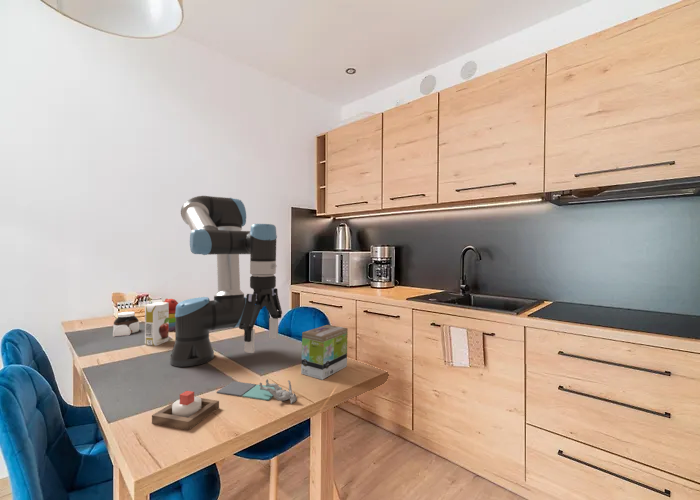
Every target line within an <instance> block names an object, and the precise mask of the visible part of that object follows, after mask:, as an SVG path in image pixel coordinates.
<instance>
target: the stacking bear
mask: <svg viewBox="0 0 700 500" xmlns="http://www.w3.org/2000/svg"><path fill="white" fill-rule="evenodd" d="M163 302H166V303H169V332H173V331H175V328H176V317H175V313H176V306H177V304H178V303H179V302H178V301H177V300H176V299H173V298H165V300H164V301H163Z"/></svg>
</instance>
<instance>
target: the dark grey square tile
mask: <svg viewBox="0 0 700 500" xmlns="http://www.w3.org/2000/svg"><path fill="white" fill-rule="evenodd" d="M256 385H257V384H255V383H252V382H251V383H249V382H242V381H234V380H233V381H231V382H230V383H228V384H227V385H224V386H223V387H222V388H220V389H218V390H217V391H216V394H221V395H228V396H234V397H240V398H241V397H243V395H244V394H245V393H247V392H248V391H249V390H251V389H252V388H253V387H255V386H256Z"/></svg>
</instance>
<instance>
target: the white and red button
mask: <svg viewBox="0 0 700 500" xmlns="http://www.w3.org/2000/svg"><path fill="white" fill-rule="evenodd" d="M201 398H202V397H199V396H195V391H193V390H192V391H191V390H185V391H184V392H181V393H180V394H179V399H177V400H176V401H174V402H172V403H173V404H172V403H171V404H172V415H175V416H181V417H187V418H188V417H190V416H191V415H193V414H194V413H196V412H197V411H199V410H200V409H201Z"/></svg>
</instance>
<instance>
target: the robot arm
mask: <svg viewBox="0 0 700 500" xmlns="http://www.w3.org/2000/svg"><path fill="white" fill-rule="evenodd" d="M180 216H181V218H182V220H183V222H184V223H185V224H187V226H189V229H190V230H191V232H190V233H189V234H190V235H189V247H190V252H191V254H194V255H203V256H208V255H216V262H217V263H216V264H217V265H216V266H217V267H216V268H217V270H216V271H217V273H216V275H217V292H216V293H215V294H214V295H213V300H210V298H209V297H208V296H201V297H200V296H199V297H193V298H189V299H185V300H182V301H180V302H178V304H177V306H176V313H175V317H176V328H175V330H174V331H175V334H174V335H175V336H174V337H175V339H174V340H175V341H174V344H173V348H172V351H171V353H170V356H169V364H170V365H171V366H174V367H180V368H182V367H194V366H198V365H203V364H206V363H209V362H210V361H212V360H213V359H214V358H215V357H214V356H215V352H214V349H213V346H212V343H211V340H210V331H216V330H223V329H230V328H231V329H232V328H233V329H235V328H237V327H238V328H239V330H243V332H244V334H243V337H244V339H243V340H244V353H249V354H254V353H255V343H256V342H255V340H256V339H255V336H256V335H255V332H256V331H255V330H256V329H254V327H255V323H256V321H257V320H258V319H257V318H258V317H259V314H260V312H261V310H263V308H264V307H265V308H266V309H267V311H268V314H269V316H270V317H269V322H268V323H269V324H268V326H269V328H268V329H269V330H268V331H269V333H268V334H269V335H268V338H269V339H274V340H278V338H279V334H278V333H279V319H281V318H282V314H283V311H282V307H281V304H280V300H279V294H278V288H276V285H277V278H276V273H277V272H276V271H277V267H278V266H277V238H278V234H277V227H276V225H275V224H271V223H253V224H251V226H250V230H243V228H242V227H244V226H246V224H247V211H246V207H245V204H244V203H243V201H242V200H241V199H239V198H232V197H223V196H222V197H221V196H210V195H198V196H193V197H192V198H189V199H188V200H187V201H185V202H184V203H183V205H182V206H181V209H180ZM240 255H250V262H249V274H250V275H251V276H250V277H249V288H250V289H252V290H253V293H246V296H245V293H244V292H243V291H242V290H241V281H240V274H241V273H240V272H241V271H240Z"/></svg>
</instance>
